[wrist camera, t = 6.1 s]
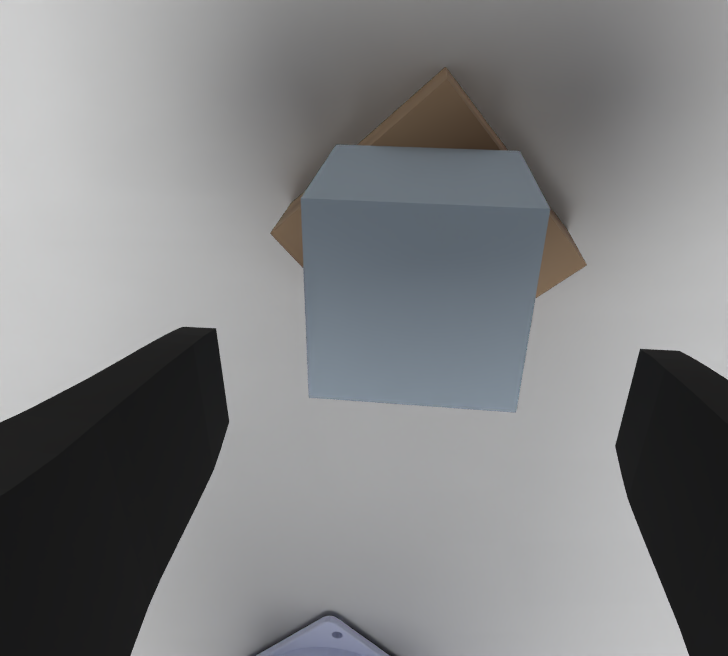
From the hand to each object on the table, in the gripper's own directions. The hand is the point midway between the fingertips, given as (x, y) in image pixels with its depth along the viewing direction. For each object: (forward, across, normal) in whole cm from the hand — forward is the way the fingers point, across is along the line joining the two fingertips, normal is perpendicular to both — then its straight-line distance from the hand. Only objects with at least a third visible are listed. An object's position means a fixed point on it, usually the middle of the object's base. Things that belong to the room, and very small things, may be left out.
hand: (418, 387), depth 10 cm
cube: (+6, 0, 0) cm, 7 cm away
